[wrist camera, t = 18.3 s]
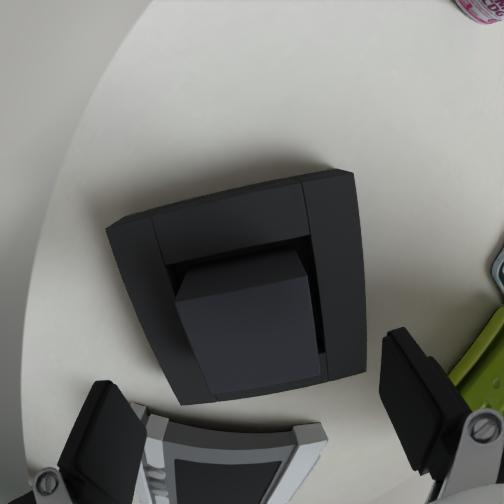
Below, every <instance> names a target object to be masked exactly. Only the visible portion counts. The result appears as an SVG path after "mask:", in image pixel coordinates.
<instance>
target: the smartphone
mask: <svg viewBox="0 0 504 504" xmlns="http://www.w3.org/2000/svg"><path fill="white" fill-rule="evenodd" d="M492 276H493V278H494V279H495V281H496V283H497V284H498V286H499V288H500V289H501V291H502V293H503V295H504V249H503V250H502V252H501V253H500V255H499V256H498V258H497V259H496V261H495V262H494V265H493V268H492Z"/></svg>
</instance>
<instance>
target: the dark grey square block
mask: <svg viewBox="0 0 504 504" xmlns="http://www.w3.org/2000/svg"><path fill="white" fill-rule="evenodd" d="M174 303H175V306H176V309H177V312H178V314H179V317H180V320H181V322H182V325H183V328H184V330H185V333H186V335H187V338H188V340H189V343H190V345H191V348H192V350H193V353H194V355H195V358H196V360H197V363H198V365H199V367H200V370H201V372H202V375H203V377H204V379H205V382H206V384H207V386H208V388H209V391H210V393H211V394H216V393H224V392H231V391H238V390H245V389H251V388H257V387H263V386H269V385H274V384H279V383H284V382H289V381H294V380H299V379H304V378H308V377H313V376H317V375H320V366H319V358H318V349H317V341H316V333H315V326H314V318H313V311H312V304H311V297H310V290H309V283H308V276H307V274H306V272H305V270H304V268H303V266H302V263H301V261H300V259H299V257H298V255H297V253H296V251H295V249H294V247H293V245H292V244H290V245H286V246H281V247H276V248H271V249H267V250H262V251H257V252H253V253H248V254H243V255H238V256H234V257H229V258H224V259H219V260H215V261H210V262H205V263H200V264H196V265H191V266H189V268H188V270H187V272H186V275H185V277H184V280H183V282H182V284H181V287H180V289H179V291H178V294H177V296H176V299H175V301H174Z"/></svg>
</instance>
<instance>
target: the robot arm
mask: <svg viewBox="0 0 504 504" xmlns="http://www.w3.org/2000/svg"><path fill="white" fill-rule="evenodd" d="M379 395H380V398H381V400H382V403H383V405H384V407H385V409H386V411H387V413H388V415H389V418H390V420H391V422H392V424H393V426H394V429H395V431H396V433H397V435H398V438H399V440H400V442H401V444H402V447H403V449H404V451H405V454H406V456H407V458H408V461H409V463H410V465H411V467H412V469H413V470H414V471H417V470H418V471H419V474H420V476H422V475H424V474H426V473H430V475H431V477H432V479H433V480H434V482H433V485H432V487H431V490H430V492H429V494H428V497H427V499H426V502H425V504H504V417H503V416H502V415H501V414H500V413H499V412H497V411H496V410H494V409H490V408H482V409H479V410H476V411H474V412H472V410H471V409H470V407H469V406H468V404H467V403H466V401H465V400H464V398H463V397H462V396H461V394H460V393H459V391H458V390H457V388H456V387H455V385H454V384H453V383H452V381H451V380H450V378H449V377H448V376H447V374H446V373H445V372H444V370H443V369H442V367H441V366H440V365H439V363H438V362H437V361H436V360H435V359H434V357H431V356H429V357H427V356H426V355H425V353H424V352H423V351H422V349H421V348H420V347H419V345H418V344H417V343H416V341H415V340H414V339H413V337H412V336H411V335H410V333H409V332H408V331H407V329H406V328H405V327H400V328H397V329H394V330H391V331H388V332H387V336H386V337H383V340H382V357H381V371H380V383H379ZM146 439H147V430H146V427H145V426H144V425H143V423H142V422H141V420H140V419H139V418H138V416H137V415H136V413H135V412H134V411H133V409H132V408H131V406H130V405H129V403H128V402H127V400H126V399H125V397H124V396H123V394H122V393H121V391H120V390H119V388H118V386H117V385H116V384H113V382H112V381H110V380H101V381H95V382H94V384H93V386H92V388H91V390H90V392H89V394H88V396H87V398H86V400H85V402H84V404H83V406H82V409H81V411H80V413H79V415H78V417H77V419H76V422H75V424H74V426H73V428H72V431H71V433H70V435H69V437H68V440H67V442H66V444H65V447H64V449H63V451H62V454H61V456H60V459H59V461H58V464H57V466H58V467H59V468H60V469H59V471H58V470H57V469H55V468H52V467H47V468H44V469H42V470H40V471H39V472H38V473H37V474H36V475H35V477H34V479H33V483H32V486H33V490H32V491H30V492H29V493H27V494H25V495H23V496H21V497H19V498H17V499H15V500H13V501H11V502H9V503H8V504H132V500H133V496H134V491H135V486H136V482H137V477H138V473H139V468H140V464H141V460H142V455H143V451H144V447H145V443H146Z"/></svg>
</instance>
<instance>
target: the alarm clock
mask: <svg viewBox="0 0 504 504" xmlns="http://www.w3.org/2000/svg"><path fill="white" fill-rule="evenodd" d="M131 408H132V409H133V411H134V412H135V413H136V415H137V416H138V418H139V419H140V420H141V422H142V423H143V425H144V426H145V427H146V430H147V439H146V443H145V447H144V451H143V455H142V460H141V464H140V468H139V473H138V477H137V482H136V486H135V491H136V493H137V496H138V499H139V501H140V504H286V503H287V502H288V501H290V500H291V499H292V497H293V496H294V495H295V493H296V492H297V490H298V489H299V488H300V486H301V485H302V483H303V482H304V481H305V479H306V478H307V476H308V475H309V473H310V472H311V470H312V469H313V467H314V466H315V464H316V463H317V461H318V460H319V458H320V453H321V451H322V450H323V448H324V447H325V445H326V443H327V442H328V437H327V435H326V433H325V431H324V429H323V427H322V425H321V423H315V424H307V425H298V426H293V428H292V431H289V432H277V433H232V432H223V431H215V430H208V429H201V428H197V427H192V426H187V425H183V424H178V423H174V422H170V421H169V418H165V417H161V416H157V415H153V414H151V415H150V416H147V412H146V406H142V405H139V404H135V403H131Z"/></svg>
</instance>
